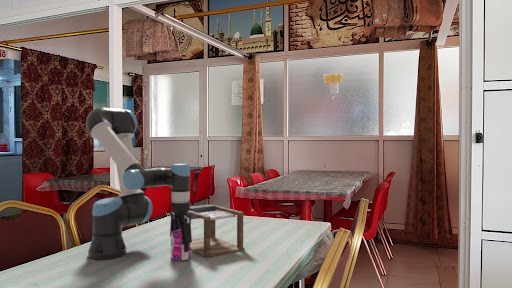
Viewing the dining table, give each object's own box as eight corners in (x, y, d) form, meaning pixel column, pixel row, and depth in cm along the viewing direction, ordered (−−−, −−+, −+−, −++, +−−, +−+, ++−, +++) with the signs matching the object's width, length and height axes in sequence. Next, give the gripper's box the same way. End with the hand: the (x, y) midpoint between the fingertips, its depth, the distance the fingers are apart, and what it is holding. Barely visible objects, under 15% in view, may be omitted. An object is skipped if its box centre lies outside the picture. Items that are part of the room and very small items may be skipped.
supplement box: (170, 259, 161) (170, 231, 161) (179, 255, 166) (179, 228, 166) (181, 261, 158) (181, 233, 158) (190, 257, 163) (190, 230, 163)
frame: (177, 243, 185) (177, 208, 185) (212, 237, 197) (212, 204, 197) (207, 257, 163) (207, 217, 163) (244, 250, 175) (244, 212, 175)
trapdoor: (184, 217, 184) (184, 207, 184) (212, 214, 193) (212, 204, 193) (207, 225, 167) (207, 213, 167) (236, 221, 176) (236, 210, 176)
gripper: (200, 203, 156) (200, 261, 156) (177, 197, 172) (177, 250, 172) (183, 205, 151) (183, 265, 152) (161, 199, 168) (161, 253, 168)
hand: (180, 257), depth 162 cm, fingers closed on supplement box, 7 cm apart
